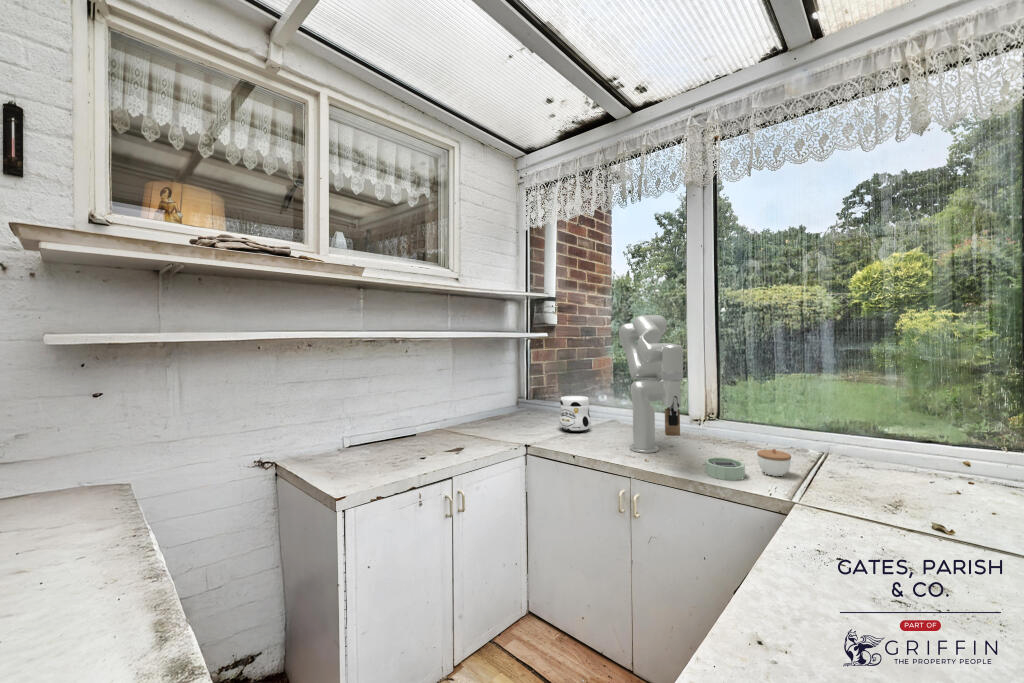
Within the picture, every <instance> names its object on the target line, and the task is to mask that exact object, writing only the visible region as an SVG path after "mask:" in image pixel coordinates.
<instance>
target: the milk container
mask: <svg viewBox="0 0 1024 683" xmlns="http://www.w3.org/2000/svg"><path fill="white" fill-rule="evenodd" d="M589 401H590V399H589V397H588V396H586V395H585V396H584V395H564V396H561V397H560V401H559V402H560V406H559V407H560V413H559V414H560V415H559V419H558V424H559V428H560V429H561V430H562V431H565V432H569V433H570V432H571V433H572V432H573V433H582V432H586V431H588V430H590V429H591V426H592V420H591V416H590V402H589Z"/></svg>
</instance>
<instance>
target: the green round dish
mask: <svg viewBox="0 0 1024 683" xmlns="http://www.w3.org/2000/svg"><path fill="white" fill-rule="evenodd" d="M705 472H706V473H707V474H706V473H705ZM704 473H705V474H706V476H708V475H710V476H709V477H711V476H712V477H711V478H713V477H715V478H714V479H717V478H719V479H718V480H722V479H725V480H724V481H735V480H736V481H738V480H737V479H741V480H743V479H742V478H744V479H745V477H746V464H745V463H744V462H743V461H741V460H737V459H735V458H730V457H729V458H728V457H718V456H716V457H714V456H713V457H712V456H711V457H707V458H706V459H705V460H704ZM744 476H745V477H744Z"/></svg>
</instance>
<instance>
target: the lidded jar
mask: <svg viewBox="0 0 1024 683" xmlns="http://www.w3.org/2000/svg"><path fill="white" fill-rule="evenodd" d="M756 453H757V463H758V466H759V469H760V470H761V471H762V472H765V473H766V474H769V475H773V476H772V477H774V476H782V477H784V476H785V475H786V474H787V473H788V472H789V471H790V468H791V462H792V455H791V454H790V453H788V452H785V451H781V450H776V448H772V449H759V450H758V451H756ZM765 473H764V474H765ZM766 474H765V475H766ZM769 475H768V476H769ZM783 475H784V476H783Z"/></svg>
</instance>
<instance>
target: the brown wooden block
mask: <svg viewBox="0 0 1024 683" xmlns="http://www.w3.org/2000/svg"><path fill="white" fill-rule="evenodd" d="M680 411H681V409H679V408H678V425H677V426H670V425H669V415H670V414H669V409H667V408H664V434H665V436H667V437H670V436H671V437H681V412H680Z"/></svg>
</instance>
